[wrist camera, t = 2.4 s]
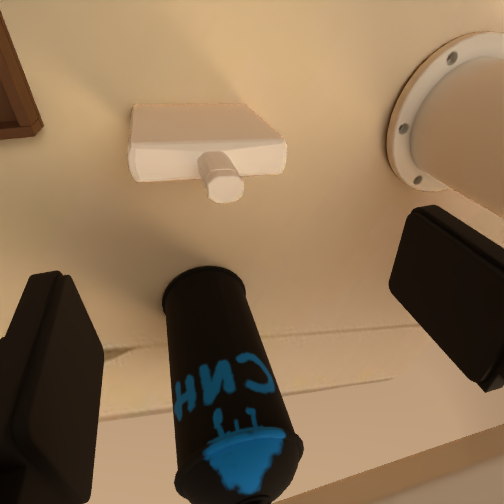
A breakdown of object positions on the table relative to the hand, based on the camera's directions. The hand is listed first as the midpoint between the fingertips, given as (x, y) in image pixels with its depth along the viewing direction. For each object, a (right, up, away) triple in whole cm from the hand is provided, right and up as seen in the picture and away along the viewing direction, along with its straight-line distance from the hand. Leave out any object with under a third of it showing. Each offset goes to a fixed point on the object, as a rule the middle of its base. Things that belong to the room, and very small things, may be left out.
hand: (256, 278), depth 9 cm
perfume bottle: (-4, +10, +14) cm, 18 cm away
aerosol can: (-5, -4, +24) cm, 25 cm away
